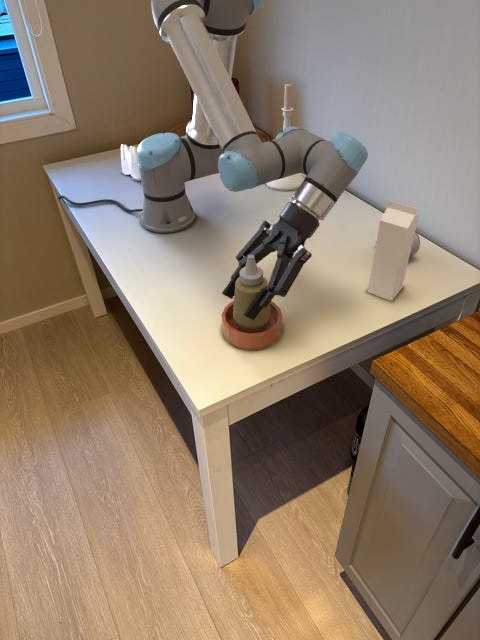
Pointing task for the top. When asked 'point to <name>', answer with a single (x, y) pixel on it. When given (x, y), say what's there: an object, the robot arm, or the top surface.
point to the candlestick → (296, 179)
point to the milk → (392, 250)
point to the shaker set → (130, 161)
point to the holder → (252, 339)
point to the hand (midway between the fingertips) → (237, 306)
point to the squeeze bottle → (250, 298)
